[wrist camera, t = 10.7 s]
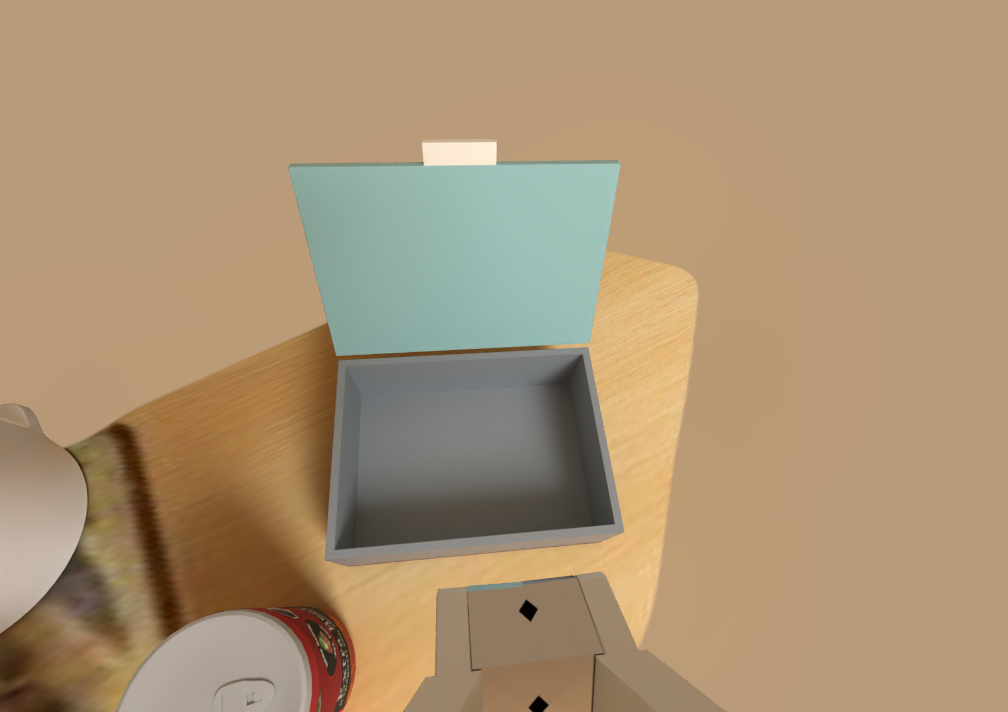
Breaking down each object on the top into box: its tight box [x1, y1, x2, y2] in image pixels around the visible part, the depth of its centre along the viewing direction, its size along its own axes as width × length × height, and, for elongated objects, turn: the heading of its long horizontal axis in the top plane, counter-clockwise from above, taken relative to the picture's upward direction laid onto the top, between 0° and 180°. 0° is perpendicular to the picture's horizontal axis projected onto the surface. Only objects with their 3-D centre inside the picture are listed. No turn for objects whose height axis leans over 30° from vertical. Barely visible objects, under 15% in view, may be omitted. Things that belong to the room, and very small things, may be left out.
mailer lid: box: [288, 139, 620, 356], centre depth 30 cm, size 18×14×1 cm
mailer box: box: [325, 347, 624, 566], centre depth 34 cm, size 18×13×6 cm
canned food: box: [116, 607, 356, 712], centre depth 25 cm, size 8×8×11 cm
